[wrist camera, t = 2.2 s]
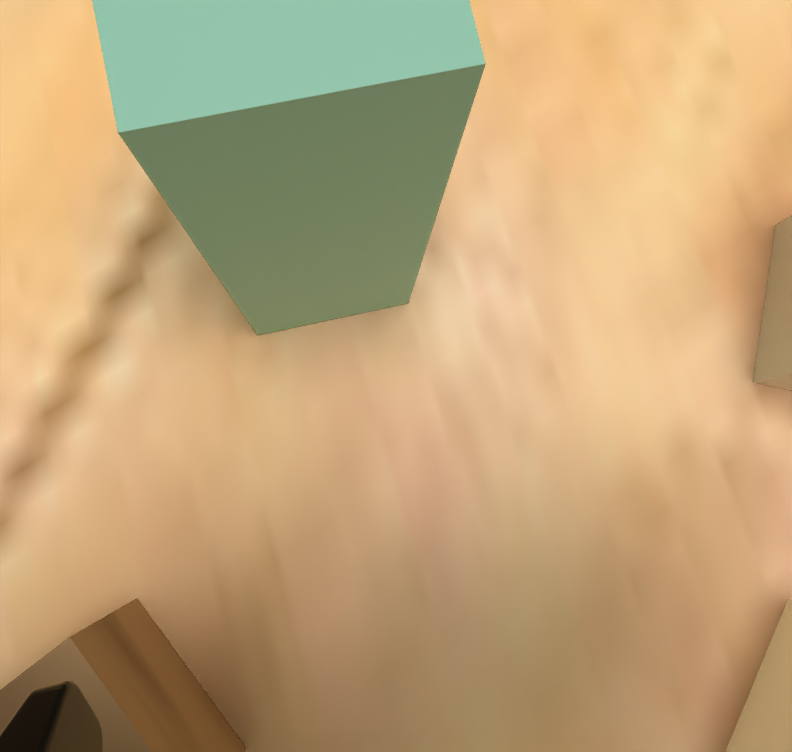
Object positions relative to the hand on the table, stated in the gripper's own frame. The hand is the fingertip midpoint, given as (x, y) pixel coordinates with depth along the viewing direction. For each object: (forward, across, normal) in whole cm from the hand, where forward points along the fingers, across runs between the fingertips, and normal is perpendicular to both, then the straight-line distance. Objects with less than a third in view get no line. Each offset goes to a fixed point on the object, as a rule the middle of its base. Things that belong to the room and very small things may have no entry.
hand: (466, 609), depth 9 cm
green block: (+15, +1, +1) cm, 15 cm away
